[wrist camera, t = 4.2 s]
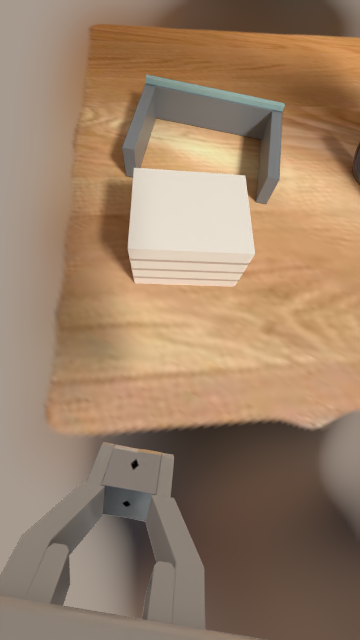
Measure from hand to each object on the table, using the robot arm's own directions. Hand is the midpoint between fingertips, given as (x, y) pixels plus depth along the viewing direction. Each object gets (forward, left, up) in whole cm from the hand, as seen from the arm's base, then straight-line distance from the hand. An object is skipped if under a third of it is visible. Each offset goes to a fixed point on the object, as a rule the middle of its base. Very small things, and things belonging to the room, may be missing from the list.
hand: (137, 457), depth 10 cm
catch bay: (0, -37, -14) cm, 40 cm away
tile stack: (0, -21, -15) cm, 26 cm away
